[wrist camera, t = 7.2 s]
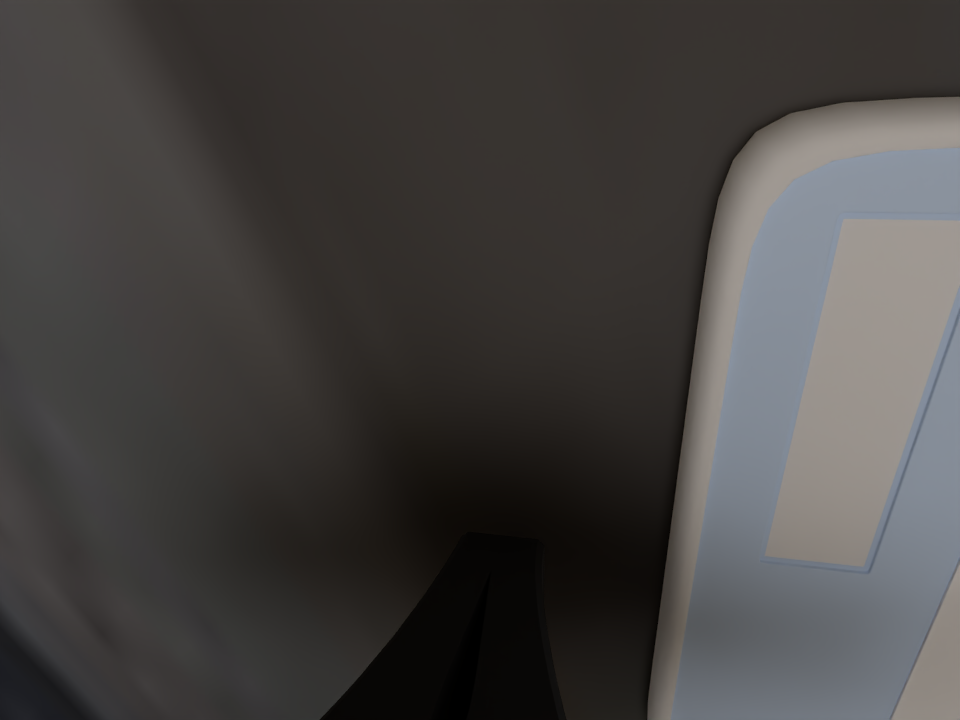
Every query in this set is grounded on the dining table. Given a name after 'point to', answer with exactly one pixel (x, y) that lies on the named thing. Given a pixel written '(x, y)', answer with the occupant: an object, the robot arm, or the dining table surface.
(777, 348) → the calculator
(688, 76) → the dining table surface
